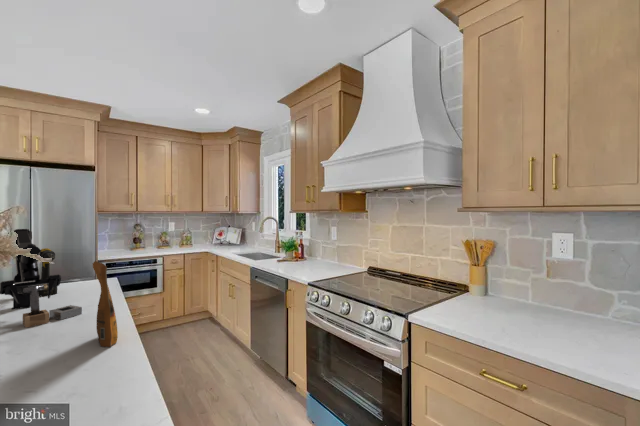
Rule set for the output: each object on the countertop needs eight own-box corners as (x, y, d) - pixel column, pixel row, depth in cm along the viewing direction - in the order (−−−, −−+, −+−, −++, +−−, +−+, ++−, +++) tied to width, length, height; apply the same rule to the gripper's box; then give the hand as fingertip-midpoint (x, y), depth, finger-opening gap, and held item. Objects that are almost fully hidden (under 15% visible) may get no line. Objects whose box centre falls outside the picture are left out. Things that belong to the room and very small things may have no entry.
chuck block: (49, 317, 130) (49, 310, 130) (70, 311, 137) (70, 305, 137) (60, 319, 127) (60, 312, 127) (81, 313, 134) (81, 307, 134)
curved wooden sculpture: (94, 352, 97) (94, 266, 97) (92, 333, 112) (92, 259, 112) (119, 346, 102) (119, 264, 101) (114, 329, 116) (114, 257, 116)
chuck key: (26, 326, 120) (24, 288, 120) (25, 324, 122) (23, 287, 121) (46, 321, 125) (44, 285, 124) (45, 319, 126) (43, 284, 126)
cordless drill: (42, 299, 155) (42, 251, 155) (33, 293, 168) (33, 248, 168) (62, 296, 162) (62, 250, 162) (52, 290, 175) (52, 247, 175)
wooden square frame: (22, 323, 123) (22, 313, 123) (45, 318, 128) (45, 309, 128) (25, 327, 118) (25, 317, 118) (49, 322, 124) (49, 312, 124)
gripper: (54, 277, 143) (60, 305, 136) (-3, 285, 129) (0, 316, 122) (58, 263, 138) (64, 291, 131) (-1, 269, 123) (2, 301, 117)
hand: (34, 300), depth 125 cm, fingers open, 9 cm apart
